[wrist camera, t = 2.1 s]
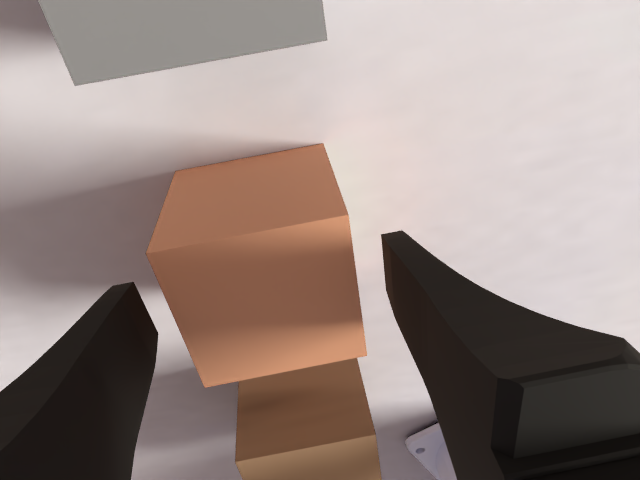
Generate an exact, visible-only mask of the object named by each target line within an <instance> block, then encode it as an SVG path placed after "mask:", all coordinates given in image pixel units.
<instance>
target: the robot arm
mask: <svg viewBox="0 0 640 480" xmlns="http://www.w3.org/2000/svg"><path fill="white" fill-rule="evenodd" d="M381 237H382V248H383V260H384V272H385V283H386V291H387V294H388V297H389V301H390V304H391V307H392V310H393V313H394V316H395V319H396V321H397V324H398V326H399V328H400V330H401V332H402V335H403V337H404V339H405V341H406V343H407V346H408V348H409V350H410V352H411V354H412V356H413V359H414V361H415V363H416V365H417V367H418V369H419V372H420V374H421V376H422V378H423V380H424V383H425V385H426V388H427V390H428V393H429V395H430V398H431V401H432V404H433V407H434V410H435V413H436V416H437V419H438V422H439V423H437V424H435V425H433V426H430V427H428V428H426V429H424V430H422V431H420V432H418V433H416V434H414V435H412V436H410V437H408V438H407V440H406V442H405V443H406V447H407V449H408V450H409V451H410V452H411V453H412V455H413V456H414V457H415V458H416V459H417V460H418V461H419V462H420V463H421V464H422V465H423V466H424V467H425V468H426V469H427V470H428V471H429V472H430V473H431V474H432V475H433V476H434V477H435V478H436V479H437V480H640V353H639V352H638V351H637V350H636V349H635V348H634V347H632V346H631V345H630V344H629V343H628V342H627V341H626V340H625V339H624V338H621V337H617V336H613V335H609V334H605V333H601V332H597V331H593V330H589V329H585V328H581V327H578V326H575V325H572V324H568V323H565V322H562V321H559V320H556V319H553V318H550V317H547V316H545V315H542V314H539V313H537V312H534V311H532V310H529V309H527V308H524V307H522V306H519V305H517V304H515V303H512V302H510V301H508V300H506V299H504V298H502V297H500V296H498V295H496V294H494V293H492V292H490V291H488V290H486V289H484V288H482V287H480V286H479V285H477V284H475V283H473V282H472V281H470V280H468V279H467V278H465V277H464V276H462V275H460V274H459V273H457V272H456V271H454V270H453V269H451V268H450V267H449V266H447V265H446V264H444V263H443V262H442V261H440V260H439V259H437V258H436V257H435V256H433V255H432V254H431V253H430V252H428V251H427V250H426V249H425V248H423V247H422V246H421V245H420V244H418V243H417V242H416V241H415V240H413V239H412V238H411V237H410V236H409V235H407V234H406V233H405V232H403V231H397V232H392V233H387V234H381ZM157 342H158V332H157V330H156V328H155V326H154V324H153V322H152V319H151V317H150V315H149V313H148V311H147V309H146V307H145V305H144V303H143V301H142V299H141V296H140V294H139V292H138V290H137V288H136V286H135V284H134V282H131V283H125V284H120V285H115V286H112V287H111V288H110V289H109V290H107V291H106V292H105V293H104V294H103V295H102V296H101V297H100V298H99V299H98V300H97V301H96V302H95V303H94V304H93V305H92V306H91V307H90V309H89V310H88V311H87V312H86V313H85V314H84V315H83V316H82V317H81V318H80V319H79V320H78V321H77V322H76V323H75V324H74V325H73V326H72V327H71V328H70V329H69V330H68V331H67V332H66V333H65V334H64V335H63V336H62V337H61V338H60V339H59V340H58V341H57V342H56V343H55V344H54V345H53V346H52V347H51V348H50V349H49V350H48V351H47V352H46V353H44V354H43V355H42V356H41V357H40V358H39V359H38V360H37V361H36V362H35V363H34V364H33V365H32V366H31V367H29V368H28V369H27V370H26V371H25V372H24V373H23V374H21V375H20V376H19V377H18V378H17V379H15V380H14V381H13V382H12V383H11V384H9V385H8V386H7V387H6V388H4V389H3V390H2V391H1V392H0V480H131V474H132V467H133V459H134V452H135V447H136V442H137V437H138V433H139V429H140V425H141V421H142V417H143V413H144V409H145V405H146V401H147V397H148V393H149V389H150V385H151V381H152V377H153V372H154V368H155V362H156V353H157Z"/></svg>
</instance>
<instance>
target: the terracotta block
mask: <svg viewBox="0 0 640 480" xmlns="http://www.w3.org/2000/svg"><path fill="white" fill-rule="evenodd" d="M146 255H147V258H148V260H149V262H150V264H151V267H152V269H153V271H154V274H155V276H156V278H157V280H158V283H159V285H160V287H161V289H162V292H163V294H164V296H165V299H166V301H167V303H168V305H169V308H170V310H171V312H172V314H173V317H174V319H175V321H176V324H177V326H178V328H179V330H180V333H181V335H182V337H183V340H184V342H185V344H186V346H187V349H188V351H189V353H190V355H191V358H192V360H193V362H194V365H195V367H196V369H197V371H198V374H199V376H200V378H201V381H202V383H203V385H204V387H205V388H206V387H211V386H216V385H221V384H226V383H231V382H236V381H241V380H246V379H251V378H256V377H262V376H267V375H272V374H277V373H282V372H287V371H292V370H297V369H302V368H307V367H312V366H317V365H322V364H327V363H332V362H337V361H342V360H348V359H353V358H358V357H363V356H367V351H366V343H365V336H364V328H363V321H362V313H361V306H360V298H359V291H358V283H357V276H356V268H355V261H354V253H353V246H352V238H351V231H350V223H349V216H348V212H347V209H346V207H345V204H344V201H343V198H342V195H341V192H340V190H339V187H338V184H337V181H336V178H335V175H334V173H333V170H332V167H331V164H330V161H329V158H328V156H327V153H326V150H325V147H324V144H317V145H312V146H307V147H301V148H296V149H291V150H285V151H280V152H275V153H269V154H264V155H259V156H253V157H248V158H242V159H237V160H232V161H226V162H221V163H216V164H210V165H205V166H200V167H194V168H189V169H184V170H178V171H175V174H174V177H173V179H172V182H171V185H170V188H169V191H168V193H167V196H166V199H165V202H164V204H163V207H162V210H161V213H160V215H159V218H158V221H157V224H156V226H155V229H154V232H153V235H152V238H151V240H150V243H149V246H148V249H147V251H146Z"/></svg>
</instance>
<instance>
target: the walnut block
mask: <svg viewBox="0 0 640 480" xmlns="http://www.w3.org/2000/svg"><path fill="white" fill-rule="evenodd" d="M235 463H236V465H237V467H238V470H239V472H240V474H241V477H242V479H243V480H382V479H381V472H380V464H379V457H378V449H377V441H376V434H375V430H374V426H373V422H372V418H371V414H370V410H369V405H368V401H367V397H366V393H365V389H364V385H363V381H362V377H361V373H360V369H359V365H358V360H357V358H353V359H348V360H342V361H337V362H332V363H327V364H322V365H317V366H312V367H307V368H302V369H297V370H292V371H287V372H282V373H277V374H272V375H267V376H262V377H256V378H251V379H246V380H241V381H239V386H238V409H237V432H236V455H235Z"/></svg>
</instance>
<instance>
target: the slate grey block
mask: <svg viewBox="0 0 640 480" xmlns="http://www.w3.org/2000/svg"><path fill="white" fill-rule="evenodd" d="M38 2H39V4H40V7H41V9H42V11H43V14H44V16H45V18H46V20H47V23H48V25H49V27H50V30H51V32H52V34H53V37H54V39H55V41H56V43H57V46H58V48H59V50H60V53H61V55H62V57H63V60H64V62H65V64H66V67H67V69H68V71H69V73H70V76H71V78H72V80H73V83H74V85H75V86H77V85H83V84H88V83H94V82H99V81H105V80H110V79H116V78H121V77H127V76H133V75H138V74H144V73H149V72H155V71H160V70H166V69H171V68H177V67H182V66H188V65H193V64H199V63H205V62H210V61H216V60H221V59H227V58H232V57H238V56H243V55H249V54H254V53H260V52H265V51H271V50H277V49H282V48H288V47H293V46H299V45H304V44H310V43H315V42H321V41H326V40H327V33H326V25H325V18H324V10H323V2H322V0H38Z"/></svg>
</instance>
